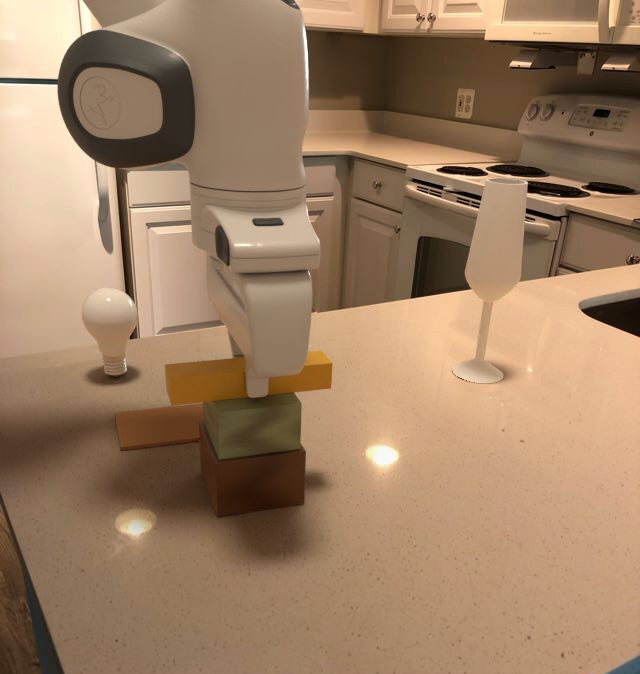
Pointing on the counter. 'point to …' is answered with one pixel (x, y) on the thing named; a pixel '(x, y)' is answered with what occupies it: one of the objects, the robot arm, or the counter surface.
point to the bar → (239, 379)
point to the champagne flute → (494, 262)
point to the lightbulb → (110, 325)
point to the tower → (253, 453)
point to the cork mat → (159, 426)
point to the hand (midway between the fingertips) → (249, 383)
